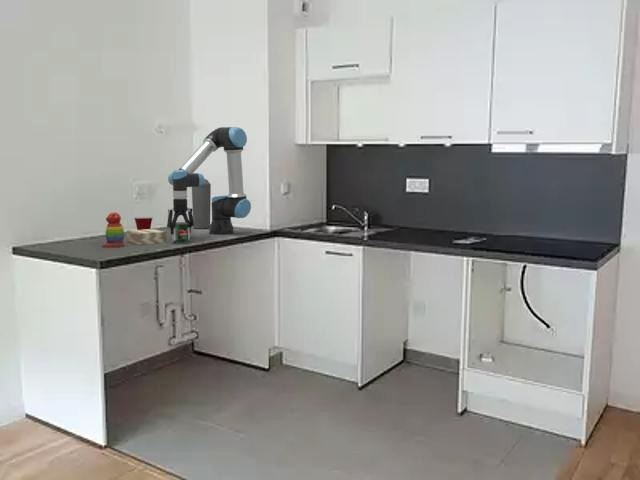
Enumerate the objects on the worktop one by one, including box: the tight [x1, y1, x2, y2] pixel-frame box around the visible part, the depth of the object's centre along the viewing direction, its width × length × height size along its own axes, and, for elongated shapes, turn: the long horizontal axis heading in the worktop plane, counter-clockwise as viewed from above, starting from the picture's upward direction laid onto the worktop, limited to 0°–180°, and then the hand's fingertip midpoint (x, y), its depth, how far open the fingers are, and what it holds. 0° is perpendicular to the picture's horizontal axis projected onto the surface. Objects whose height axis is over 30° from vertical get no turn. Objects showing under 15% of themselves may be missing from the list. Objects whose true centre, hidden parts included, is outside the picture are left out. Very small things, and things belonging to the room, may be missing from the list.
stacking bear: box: [102, 212, 125, 248], centre depth 326 cm, size 11×10×18 cm
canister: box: [191, 178, 212, 230], centre depth 405 cm, size 13×13×35 cm
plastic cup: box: [133, 216, 154, 230], centre depth 361 cm, size 11×11×12 cm
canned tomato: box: [173, 221, 189, 245], centre depth 342 cm, size 8×8×11 cm
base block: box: [126, 228, 168, 246], centre depth 343 cm, size 16×16×6 cm
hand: (180, 239), depth 342 cm, fingers closed on canned tomato, 8 cm apart
